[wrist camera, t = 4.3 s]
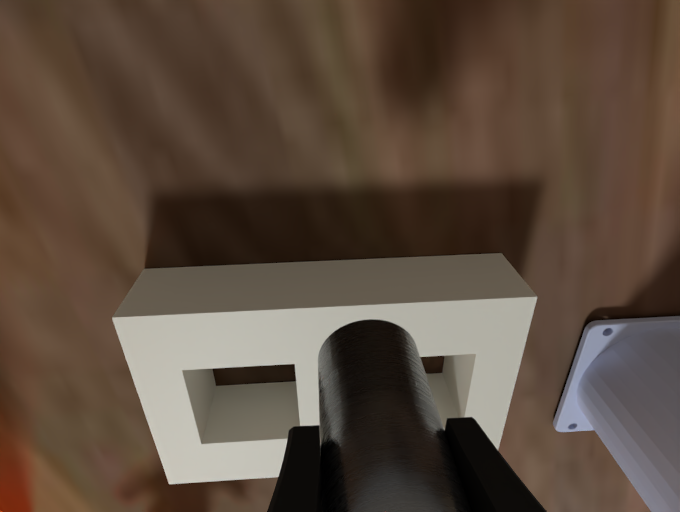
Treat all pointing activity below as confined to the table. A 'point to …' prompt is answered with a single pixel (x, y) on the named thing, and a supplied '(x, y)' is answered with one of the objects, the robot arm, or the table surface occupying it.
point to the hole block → (309, 347)
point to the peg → (381, 426)
